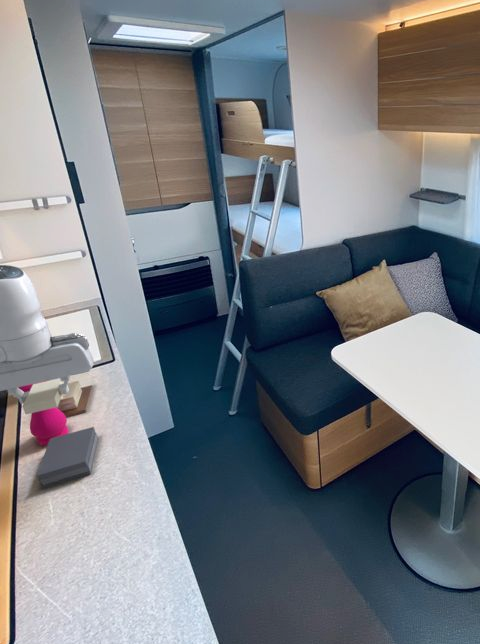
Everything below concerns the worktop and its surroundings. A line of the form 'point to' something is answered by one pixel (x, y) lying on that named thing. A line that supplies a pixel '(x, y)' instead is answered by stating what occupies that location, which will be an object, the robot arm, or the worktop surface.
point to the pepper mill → (46, 422)
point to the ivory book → (43, 396)
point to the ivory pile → (75, 399)
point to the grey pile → (68, 457)
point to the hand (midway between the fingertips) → (45, 397)
